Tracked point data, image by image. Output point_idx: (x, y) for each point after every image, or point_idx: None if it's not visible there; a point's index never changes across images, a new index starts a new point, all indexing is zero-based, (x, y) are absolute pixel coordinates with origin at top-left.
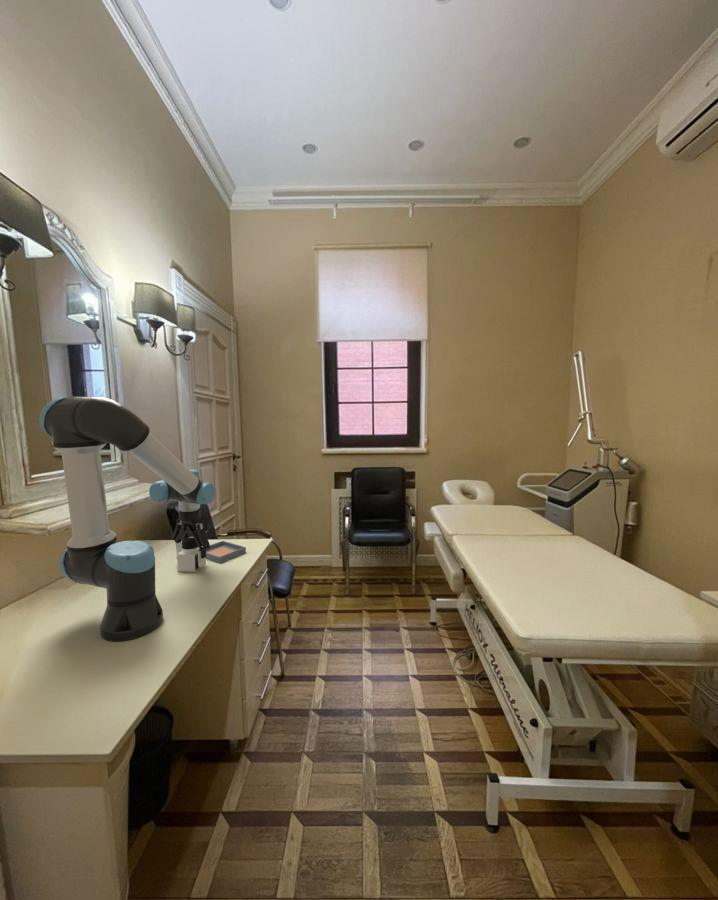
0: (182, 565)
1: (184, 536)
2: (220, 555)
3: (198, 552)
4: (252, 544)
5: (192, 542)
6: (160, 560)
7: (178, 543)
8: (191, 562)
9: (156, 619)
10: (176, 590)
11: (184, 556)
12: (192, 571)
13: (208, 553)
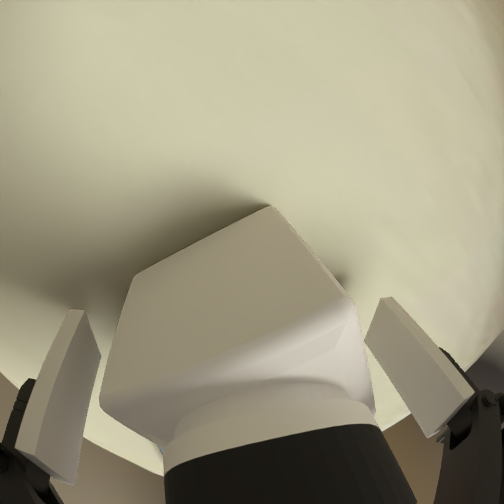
0: (235, 249)
1: (437, 488)
2: None
3: (33, 430)
4: None
5: None
6: (465, 254)
7: (456, 406)
8: (143, 315)
9: None
10: (5, 37)
11: (223, 333)
12: (151, 266)
13: None
